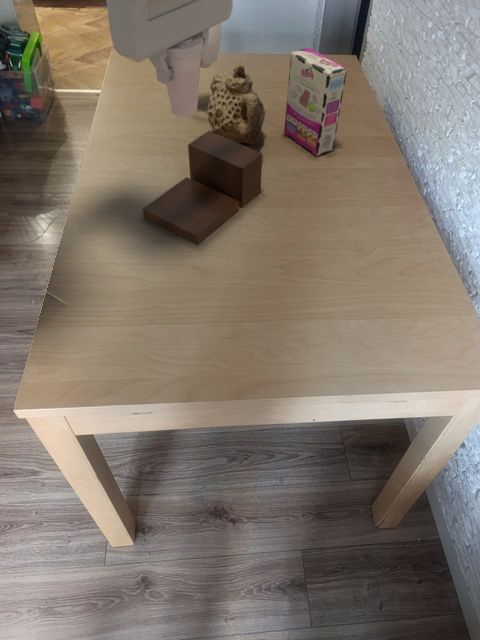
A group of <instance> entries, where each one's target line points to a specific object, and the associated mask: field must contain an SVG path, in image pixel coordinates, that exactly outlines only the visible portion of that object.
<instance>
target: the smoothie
mask: <svg viewBox="0 0 480 640" xmlns="http://www.w3.org/2000/svg"><path fill="white" fill-rule="evenodd" d="M202 50H203V39H202V38H201V37H200V36H199V35H198V34H197V35H194V36H192V37H190V38H188V39H186V40H184V41H182V42H180V43H178V44H176V45H174V46H172V47H170V48H168V49H166V55H167V56H166V57H165V58H164V60H165V62H166V64H167V66H169V67H172V68H173V76H174V79H173V80H172V81H170V82H169V83H167V84H165V86H166V91H167V95H168V99H169V103H170V108H171V112H172V114H173V115H174V116H176V117H179V118H190V117H194V116H196V114H197V113H198V104H199V103H198V102H199V90H200V89H199V87H200V73H201V67H200V61H201V52H202Z"/></svg>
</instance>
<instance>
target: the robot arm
mask: <svg viewBox="0 0 480 640" xmlns="http://www.w3.org/2000/svg"><path fill="white" fill-rule="evenodd" d="M233 2H234V1H233V0H106V10H107V19H108V25H109V33H110V38H111V42H112V45H113V48H114V50H115V51H116V52H117V54H119V56H121V57H122V58H124V59H126V60H130V61H133V62H136V63H141V62H144V61H145V60H147V59H149V61H150V62H151V64H152V65H153V67H154V68H155V74H156V79H157V81H158V82H159V83H161V84H164V85H166V84H167V83H169V82H170V81H172V80H173V79H174V76H173V68H172V67H169V66H167V64H166V62H165V60H164V58H165V57H166V56H167V55H166V49H168V48H170V47H172V46H174V45H176V44H178V43H180V42H182V41H184V40H186V39H188V38H190V37H192V36H194V35H197V34H198V35H199V36H200V37H201V38H202V39H203V50H202V52H201V61H200V65H202V64H204V51H205V47H206V44H207V41H208V38H209V28H211V27H213V26H215V25H217V24H219V23H224V22H225V21H228V20H229V19H230V18H231V15H232V12H233V6H234V3H233Z"/></svg>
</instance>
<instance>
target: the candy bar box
mask: <svg viewBox="0 0 480 640" xmlns="http://www.w3.org/2000/svg"><path fill="white" fill-rule="evenodd" d="M347 73H348V68H347V67H345V66H344V65H342V64H340V63H338V62H336V61H334V60H332V59H331V58H329V57H327V56H325V55H323V54H322V53H320V52H318V51H316V50H314V49H313V48H310V47H306V48H302V49H299V50H296V51H291V53H290V61H289V75H288V85H287V96H286V106H285V108H286V109H285V116H284V117H285V119H284V129H283V134H284V135H285V136H286V137H288V138H290V139H291V140H292V141H294V142H295V143H297V144H298V145H299V146H301V147H302V148H304V149H306V151H308V152H310V153H311V154H312V155H314V156H316V157H319V156H322V155H325V154H328V153H330V152H332V151H334V147H335V141H336V136H337V130H338V125H339V118H340V113H341V107H342V101H343V96H344V90H345V83H346V79H347Z"/></svg>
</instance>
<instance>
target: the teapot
mask: <svg viewBox="0 0 480 640" xmlns="http://www.w3.org/2000/svg"><path fill="white" fill-rule="evenodd" d="M232 70H233V71H232V72H230V73H228V72H226V71H223V72H218V73H216V74H215V76H213V77H212V80H211V83H210V87H209V88H210V90H211V95H210V96H209V100H208V103H207V112H206V114H207V117H208V118H207V119H208V122H209V125H210V127H211V128H212V130H213V131H214V133H215V134H217V135H220V136H222V137H224V138H227V139H229V140H232V141H234V142H236V143H239V144H241V145H243V144H252V145H253V144H255V143H256V142H257V141H258V140H259V138H260V136H261V132H262V127H263V124H264V121H265V115H266V110H265V107H264V103H263V101H262V99H261V97H260V96H259V94H258V93H257V92H256V90H253V85H254V81H253V79H252V78H251V76H250V75H249V74H247V73H246V71H245V66H244V65H243V64H242V63H236V65H234V67H233V68H232Z"/></svg>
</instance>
